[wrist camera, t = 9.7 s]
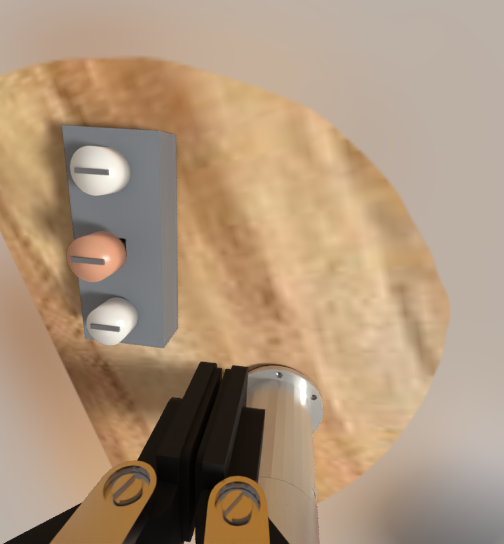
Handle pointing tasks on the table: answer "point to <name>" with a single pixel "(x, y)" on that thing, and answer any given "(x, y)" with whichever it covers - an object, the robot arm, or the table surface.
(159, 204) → the control rail
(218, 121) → the table surface
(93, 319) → the knob far
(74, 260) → the knob middle
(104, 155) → the knob near
